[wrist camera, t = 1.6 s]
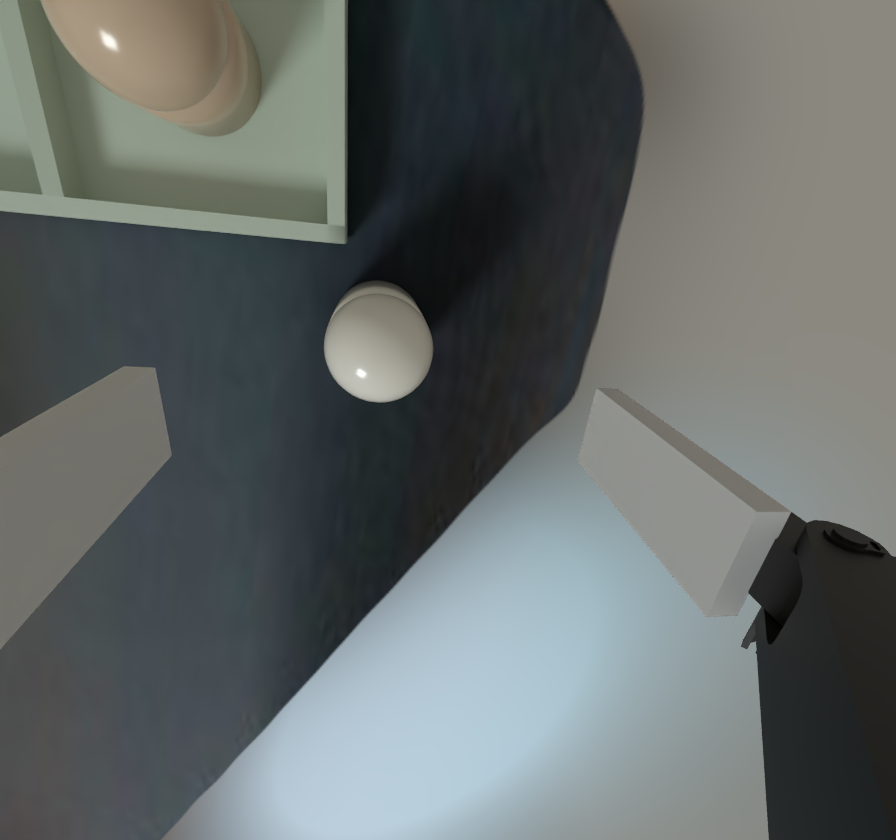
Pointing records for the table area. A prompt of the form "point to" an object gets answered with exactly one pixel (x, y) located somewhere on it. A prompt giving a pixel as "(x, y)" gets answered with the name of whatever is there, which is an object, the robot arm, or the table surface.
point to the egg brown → (166, 57)
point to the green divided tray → (182, 134)
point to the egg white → (378, 342)
